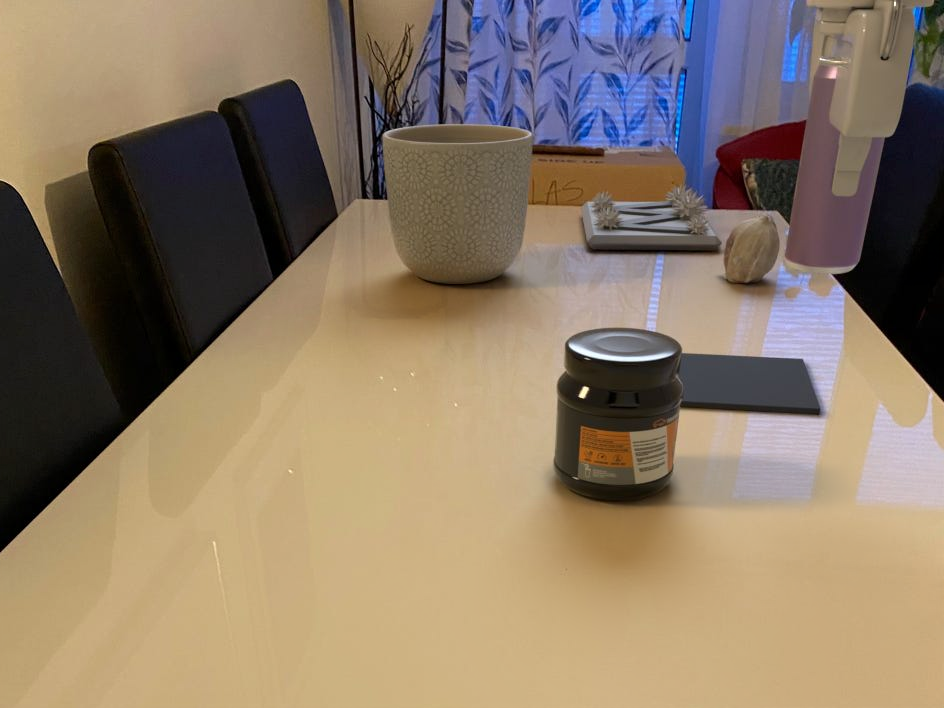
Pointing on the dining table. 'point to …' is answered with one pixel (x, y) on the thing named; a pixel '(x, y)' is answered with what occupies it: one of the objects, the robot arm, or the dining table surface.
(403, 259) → the planter
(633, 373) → the supplement container
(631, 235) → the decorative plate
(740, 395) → the mat
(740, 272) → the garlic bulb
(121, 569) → the dining table surface
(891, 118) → the robot arm
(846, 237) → the beverage can
